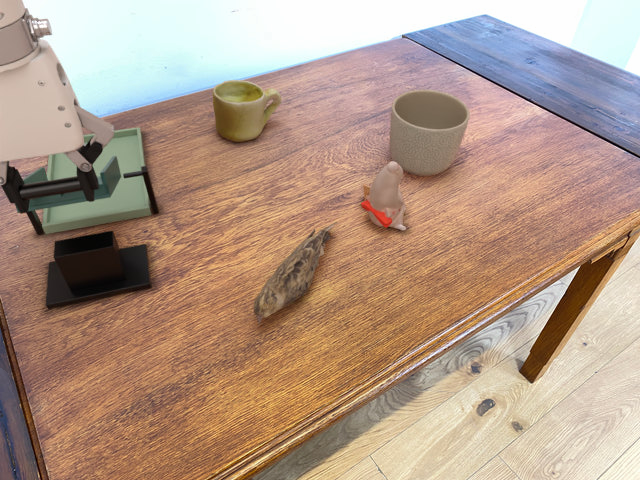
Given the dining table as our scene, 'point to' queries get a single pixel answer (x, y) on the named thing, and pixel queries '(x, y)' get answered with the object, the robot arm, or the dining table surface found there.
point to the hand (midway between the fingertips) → (58, 198)
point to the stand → (96, 263)
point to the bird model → (292, 275)
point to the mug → (242, 109)
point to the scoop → (66, 188)
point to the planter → (427, 130)
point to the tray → (128, 192)
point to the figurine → (386, 198)
